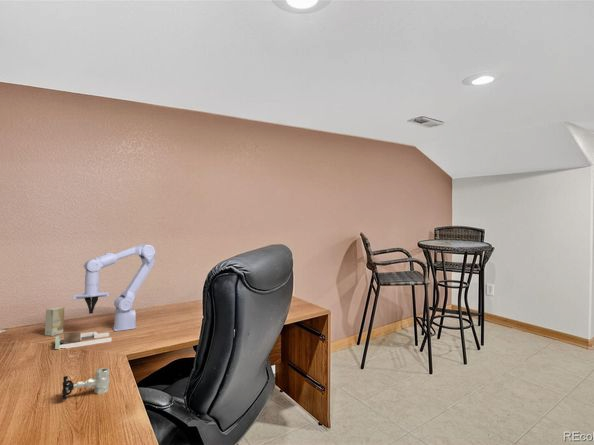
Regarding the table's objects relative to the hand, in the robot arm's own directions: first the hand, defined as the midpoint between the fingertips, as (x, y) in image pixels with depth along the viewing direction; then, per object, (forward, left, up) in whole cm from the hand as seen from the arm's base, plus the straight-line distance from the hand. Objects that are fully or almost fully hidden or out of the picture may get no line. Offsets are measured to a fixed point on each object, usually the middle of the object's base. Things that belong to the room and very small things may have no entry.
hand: (90, 313), depth 161 cm
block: (+8, +12, -10) cm, 17 cm away
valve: (+5, +68, -10) cm, 69 cm away
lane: (+3, +10, -10) cm, 14 cm away
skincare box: (+14, -9, -10) cm, 19 cm away
